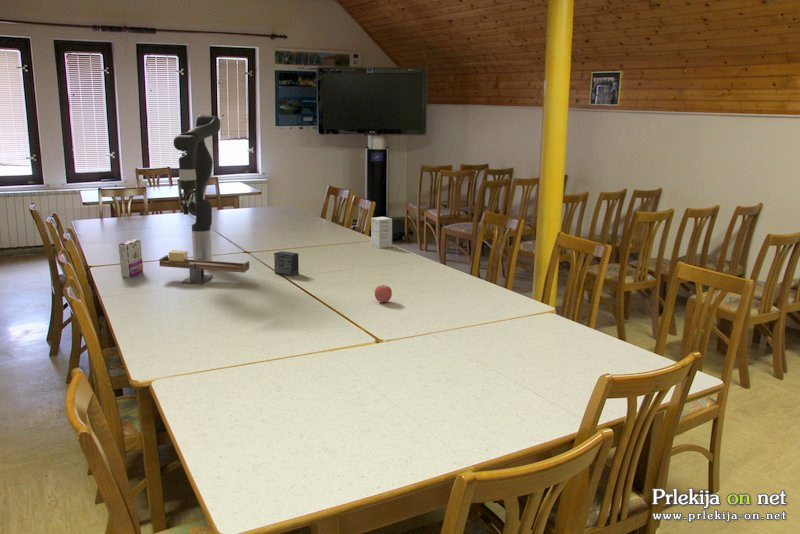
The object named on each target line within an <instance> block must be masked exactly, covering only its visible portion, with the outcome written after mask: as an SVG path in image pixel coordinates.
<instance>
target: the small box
mask: <svg viewBox="0 0 800 534" xmlns="http://www.w3.org/2000/svg"><path fill="white" fill-rule="evenodd" d="M273 255H274V257H273V258H274V274H275V275H282V276H289V277H294V276H295V275H296V276H297V275H298V274H300V272H299V252H298V253H297V252H290V251H281V250H280V251H277V252H274V253H273Z"/></svg>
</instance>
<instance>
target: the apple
mask: <svg viewBox="0 0 800 534" xmlns="http://www.w3.org/2000/svg"><path fill="white" fill-rule="evenodd" d="M392 295H393V291H392V288H391V287H390V286H388V285H386V284H384V283H383V284H381V285H378V286H376V288H375V290H374V296H375V299H376V300H377V302H379V301H380V302H379V303H381V302H385V303H387V302H386V301H388V302H389V301H390V300H391V299H392Z"/></svg>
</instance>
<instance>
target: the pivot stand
mask: <svg viewBox="0 0 800 534" xmlns="http://www.w3.org/2000/svg"><path fill="white" fill-rule="evenodd" d="M198 260H203V259H198ZM188 270H189V276H187V277H186V278H184V279H182V280H181V281H180V284H182V285H201V286H203V285H204V284H205V283H207V282H208V281H210V280H211V279H213V277H214V274H205V270H201V269H195V264H189V269H188Z"/></svg>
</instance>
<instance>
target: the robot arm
mask: <svg viewBox="0 0 800 534" xmlns="http://www.w3.org/2000/svg"><path fill="white" fill-rule="evenodd" d="M195 121H196V122H195V125H196V126H195V127H192V128H190V129H189V130H188V131H187V132H182V133H179V134H177V135H176V136H175V137H174V139H173V146H174V148H175V149H176V150H177V151H184V152H186V151H187V154H186V155H182V156H179V158H178V167H179V171H178V175H179V177H178V178H179V179H178V180H179V189H180V190H183V192H180V193H179V197H180V199H179V200H180V206H181V207H183V210H182V211H183V215H191V216H193V217H195V222H194V223H193V224H191V235H192V236H191V239H192V255H193V256H192V258H193V259H192V260H198V259H203V260H204V261H213V254H212V251H213V250H212V235H211V232H212V231H211V227H212V223H213V211H212V210H213V207H212V204H211V202H210V201H209V200H207V199H204V191H205V188H206V186H207V184H208V182H209V180H210V178H211V176H212V173H213V163H214V162H213V158H212V155H211V154H210V153H211V152H210V151H209V150H208V147H207V145H206V143H205V139H206V138H209V137H212V136H214V135H217V134H218V133H219V132H220V129H221V120H220V118H219V117H218V116H215V115H210V114H209V115H208V114H198V116H197V117H196V120H195Z"/></svg>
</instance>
